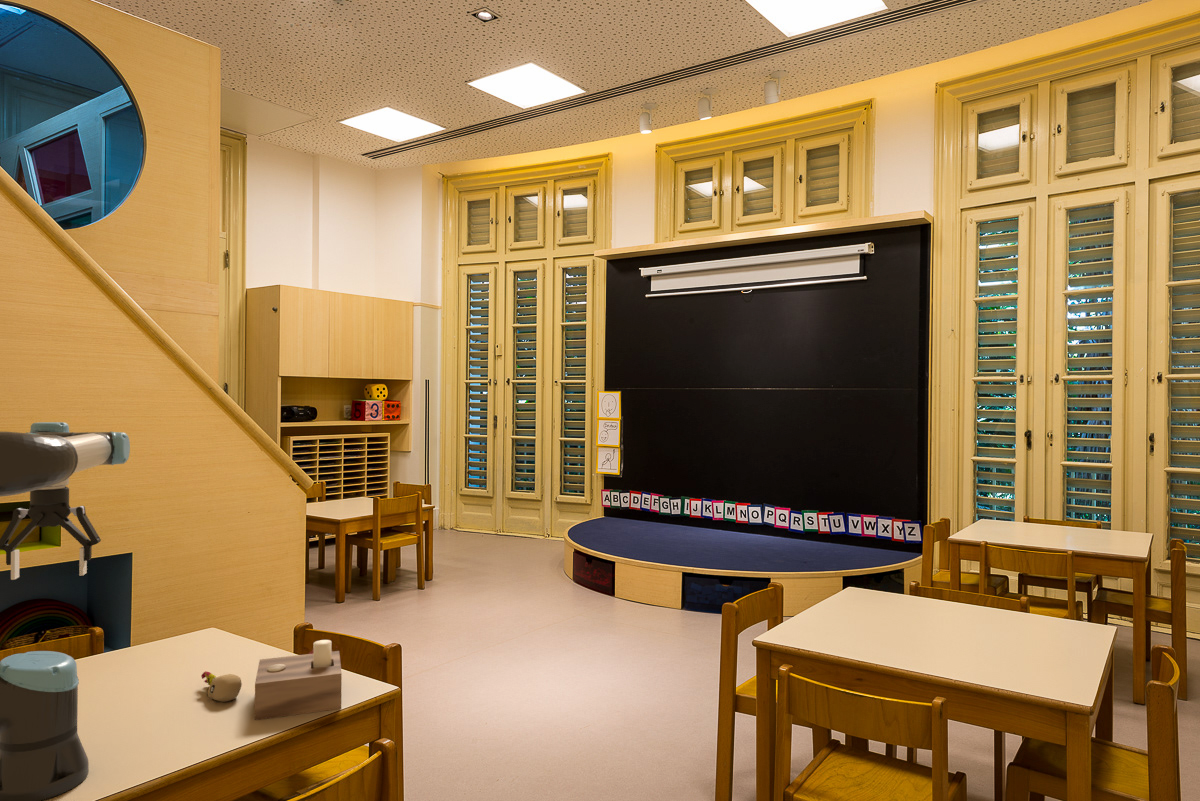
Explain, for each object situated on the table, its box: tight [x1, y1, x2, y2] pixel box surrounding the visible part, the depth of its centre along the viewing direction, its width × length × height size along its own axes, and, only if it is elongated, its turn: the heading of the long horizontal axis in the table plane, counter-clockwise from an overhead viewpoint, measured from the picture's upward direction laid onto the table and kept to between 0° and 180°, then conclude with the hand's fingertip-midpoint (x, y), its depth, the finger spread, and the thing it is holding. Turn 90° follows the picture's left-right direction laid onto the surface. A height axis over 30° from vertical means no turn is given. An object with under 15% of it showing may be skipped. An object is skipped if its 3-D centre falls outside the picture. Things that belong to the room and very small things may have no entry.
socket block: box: [254, 650, 343, 721], centre depth 175 cm, size 16×18×8 cm
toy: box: [201, 670, 243, 702], centre depth 179 cm, size 6×7×15 cm
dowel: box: [312, 639, 333, 668], centre depth 177 cm, size 4×4×8 cm
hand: (49, 576), depth 178 cm, fingers open, 13 cm apart
